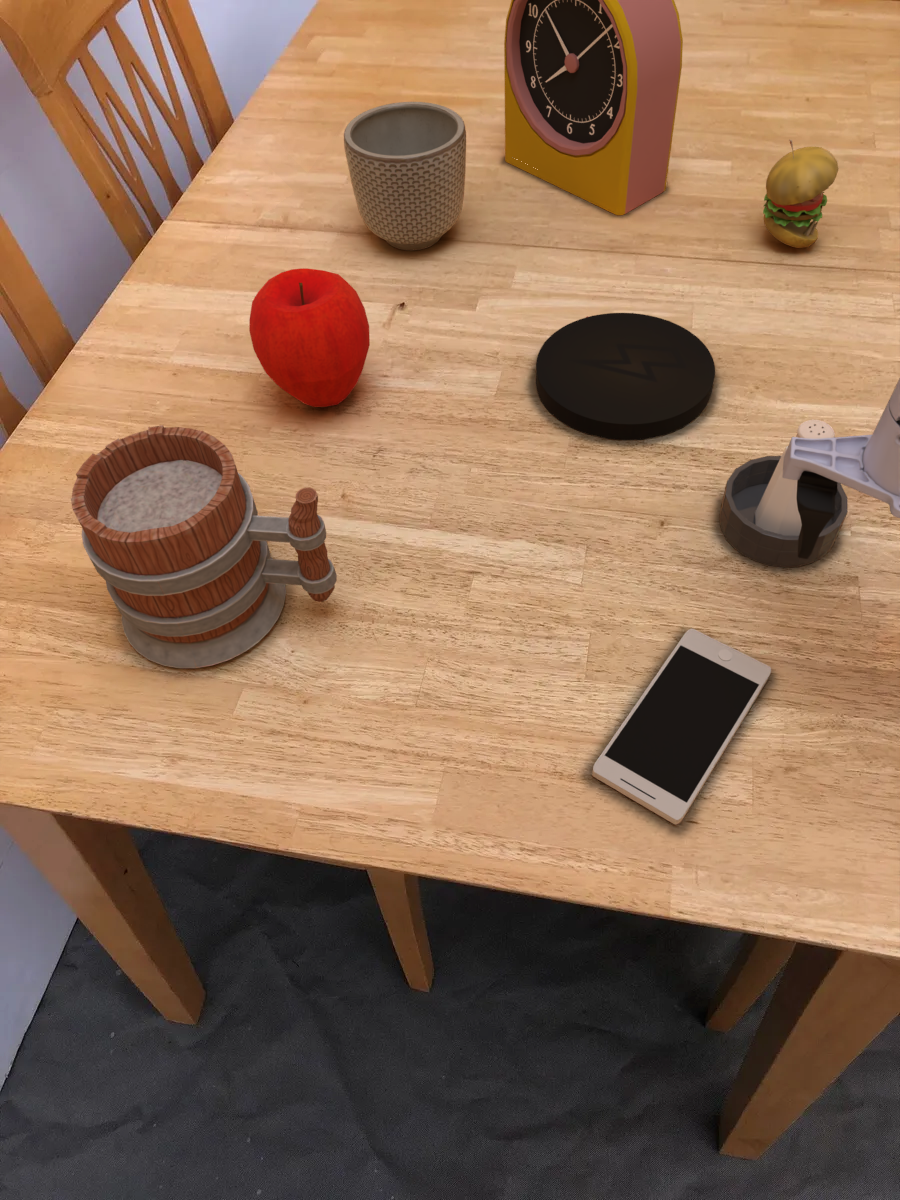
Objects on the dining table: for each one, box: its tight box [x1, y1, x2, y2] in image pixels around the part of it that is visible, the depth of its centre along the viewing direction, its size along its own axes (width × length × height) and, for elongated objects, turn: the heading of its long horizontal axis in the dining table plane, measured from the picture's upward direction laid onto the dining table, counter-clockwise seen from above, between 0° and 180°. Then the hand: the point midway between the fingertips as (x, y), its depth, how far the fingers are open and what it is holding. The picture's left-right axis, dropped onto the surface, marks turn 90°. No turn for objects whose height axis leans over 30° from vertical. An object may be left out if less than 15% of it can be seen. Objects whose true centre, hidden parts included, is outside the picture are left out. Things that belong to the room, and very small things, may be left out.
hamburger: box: [762, 139, 839, 249], centre depth 104 cm, size 8×7×12 cm
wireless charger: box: [535, 312, 716, 441], centre depth 94 cm, size 18×18×2 cm
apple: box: [248, 267, 371, 408], centre depth 91 cm, size 12×12×13 cm
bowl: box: [718, 455, 849, 568], centre depth 80 cm, size 10×10×4 cm
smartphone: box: [591, 628, 772, 825], centre depth 69 cm, size 7×16×1 cm, turn 144°
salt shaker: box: [755, 419, 836, 536], centre depth 76 cm, size 5×5×11 cm
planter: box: [343, 101, 467, 252], centre depth 109 cm, size 14×14×13 cm
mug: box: [70, 424, 338, 669], centre depth 73 cm, size 14×19×15 cm
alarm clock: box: [503, 0, 684, 216], centre depth 111 cm, size 21×9×26 cm, turn 42°
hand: (858, 558), depth 65 cm, fingers open, 7 cm apart
